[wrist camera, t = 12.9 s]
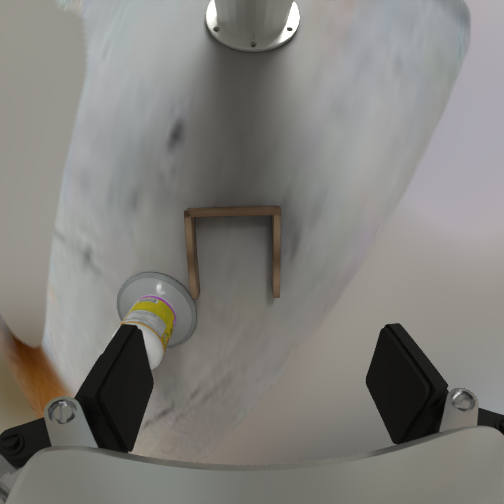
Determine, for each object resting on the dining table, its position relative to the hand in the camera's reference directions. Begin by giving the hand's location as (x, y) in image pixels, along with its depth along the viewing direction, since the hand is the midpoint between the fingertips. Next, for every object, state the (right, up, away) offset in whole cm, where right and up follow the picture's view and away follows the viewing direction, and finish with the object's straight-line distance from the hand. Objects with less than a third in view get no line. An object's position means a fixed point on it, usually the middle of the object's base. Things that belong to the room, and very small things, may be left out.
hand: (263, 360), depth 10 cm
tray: (-15, -5, +30) cm, 34 cm away
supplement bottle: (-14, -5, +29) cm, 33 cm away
